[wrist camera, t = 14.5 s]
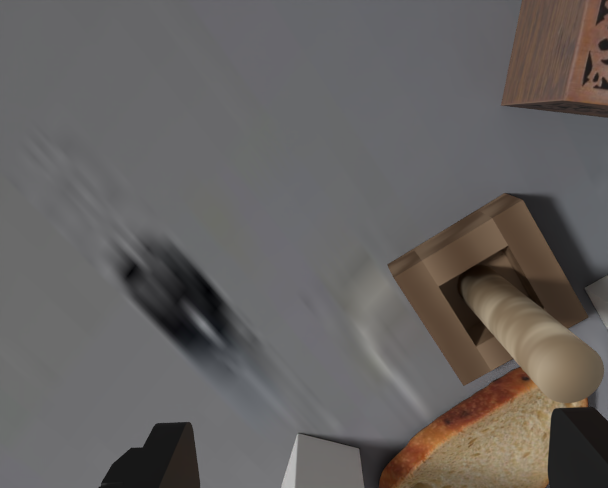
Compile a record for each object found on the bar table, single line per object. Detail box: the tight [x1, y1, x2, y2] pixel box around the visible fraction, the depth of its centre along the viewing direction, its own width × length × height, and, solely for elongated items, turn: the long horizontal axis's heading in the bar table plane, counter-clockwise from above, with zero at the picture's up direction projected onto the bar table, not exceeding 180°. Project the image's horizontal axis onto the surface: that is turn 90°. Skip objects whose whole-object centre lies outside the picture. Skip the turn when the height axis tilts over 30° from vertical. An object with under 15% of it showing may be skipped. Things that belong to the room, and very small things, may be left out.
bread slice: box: [379, 367, 588, 488], centre depth 44 cm, size 18×18×4 cm
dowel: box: [457, 265, 604, 403], centre depth 34 cm, size 4×4×15 cm
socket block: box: [388, 193, 588, 386], centre depth 40 cm, size 11×11×4 cm
